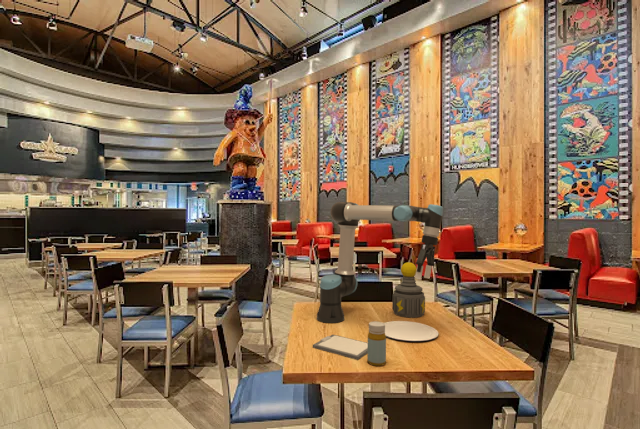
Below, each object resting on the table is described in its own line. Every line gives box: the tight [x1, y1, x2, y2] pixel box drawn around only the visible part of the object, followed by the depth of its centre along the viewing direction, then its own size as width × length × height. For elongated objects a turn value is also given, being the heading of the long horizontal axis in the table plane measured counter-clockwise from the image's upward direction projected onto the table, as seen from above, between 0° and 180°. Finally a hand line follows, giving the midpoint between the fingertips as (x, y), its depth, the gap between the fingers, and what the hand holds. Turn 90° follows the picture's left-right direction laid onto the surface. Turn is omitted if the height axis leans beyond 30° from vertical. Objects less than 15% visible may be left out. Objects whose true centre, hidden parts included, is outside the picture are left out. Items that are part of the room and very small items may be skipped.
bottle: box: [366, 321, 387, 367], centre depth 133 cm, size 7×7×15 cm
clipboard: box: [312, 334, 368, 361], centre depth 148 cm, size 22×16×2 cm
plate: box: [383, 320, 439, 342], centre depth 168 cm, size 29×29×2 cm
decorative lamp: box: [391, 262, 426, 319], centre depth 201 cm, size 19×19×30 cm
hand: (422, 278), depth 169 cm, fingers open, 13 cm apart
